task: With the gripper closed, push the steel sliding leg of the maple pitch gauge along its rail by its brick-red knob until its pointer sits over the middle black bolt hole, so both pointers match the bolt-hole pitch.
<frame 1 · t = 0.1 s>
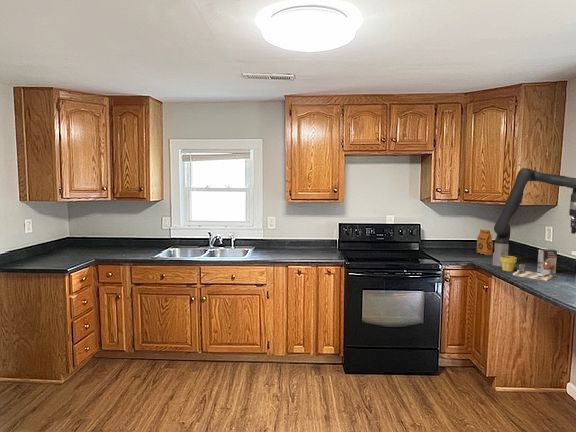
hand: (574, 233, 258), 29 cm above the table, tool pointing down, fingers open, 8 cm apart
plant pot: (507, 270, 277), on the table
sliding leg: (545, 268, 253), point 6 cm above the table, slide at 0.0 cm
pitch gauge: (532, 276, 259), on the table
coffee package: (484, 254, 344), on the table
coffee box: (546, 272, 272), on the table
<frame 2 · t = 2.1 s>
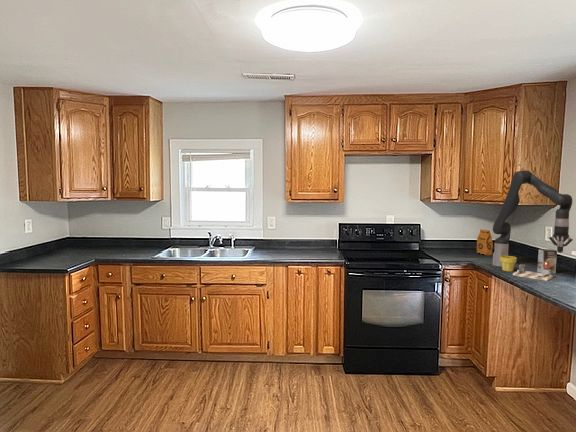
hand: (560, 252, 249), 18 cm above the table, tool pointing down, fingers closed
nothing on the table moved.
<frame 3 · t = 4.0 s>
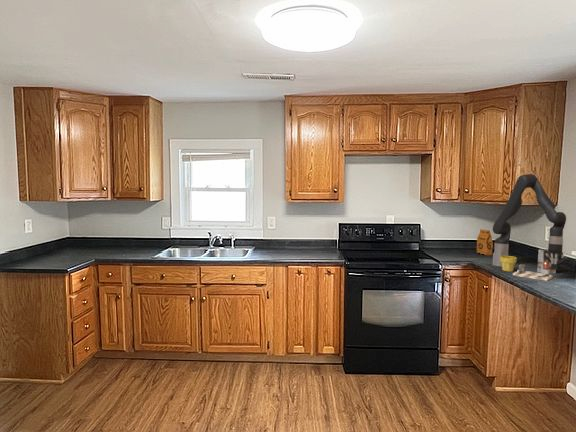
hand: (554, 269, 252), 6 cm above the table, tool pointing down, fingers closed
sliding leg: (544, 268, 253), point 6 cm above the table, slide at 0.3 cm, touching gripper
everything else where it was.
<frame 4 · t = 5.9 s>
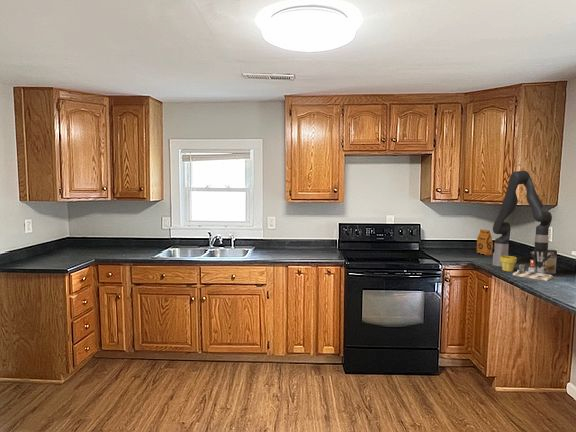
hand: (540, 267, 257), 7 cm above the table, tool pointing down, fingers closed
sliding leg: (531, 266, 259), point 6 cm above the table, slide at 8.1 cm, touching gripper
everything else where it was.
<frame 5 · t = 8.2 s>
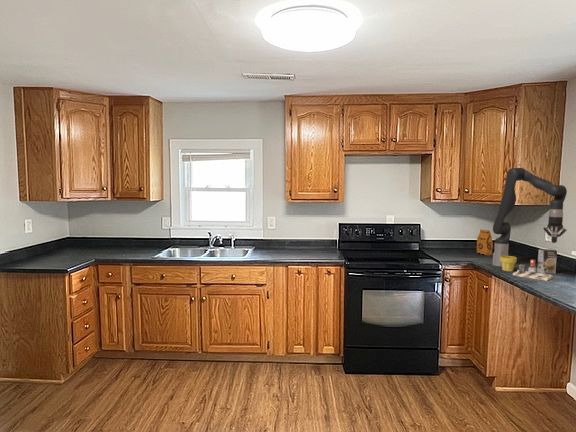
hand: (554, 242, 252), 24 cm above the table, tool pointing down, fingers closed
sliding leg: (531, 266, 259), point 6 cm above the table, slide at 8.1 cm
everything else where it was.
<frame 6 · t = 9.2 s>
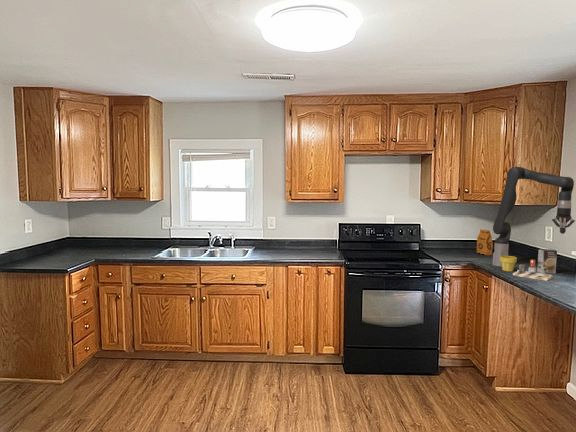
hand: (562, 233, 257), 29 cm above the table, tool pointing down, fingers closed
nothing on the table moved.
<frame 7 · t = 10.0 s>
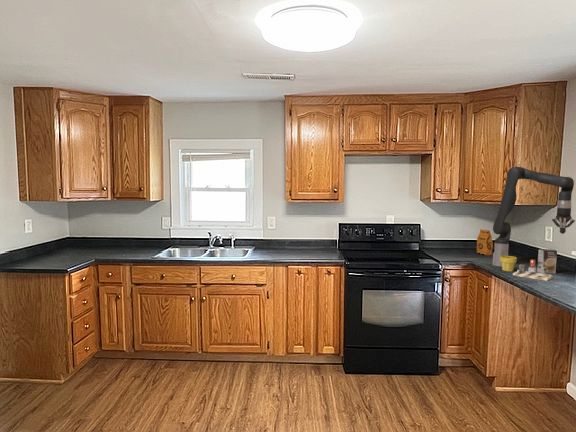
hand: (562, 233, 257), 29 cm above the table, tool pointing down, fingers closed
nothing on the table moved.
at the end: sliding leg slide at 8.1 cm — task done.
